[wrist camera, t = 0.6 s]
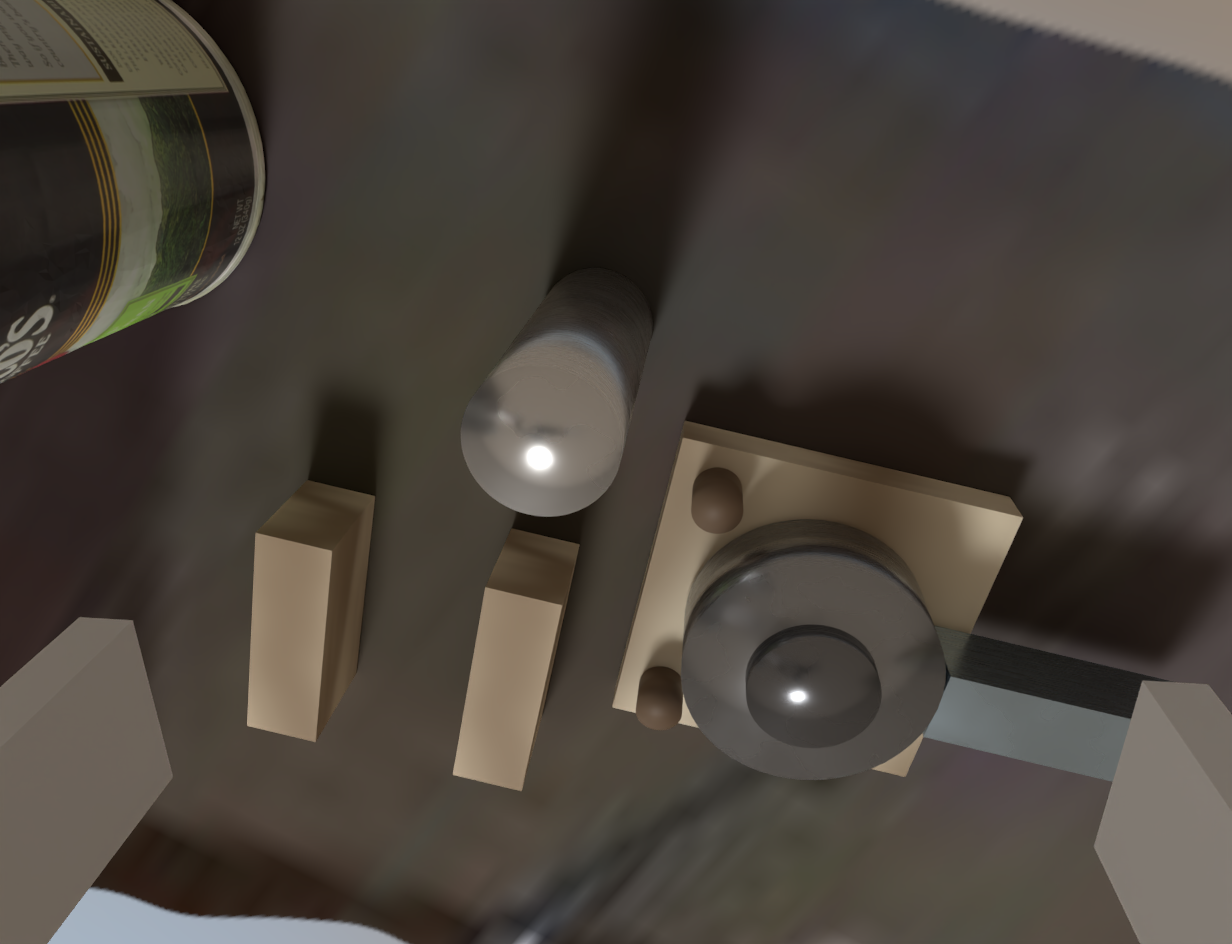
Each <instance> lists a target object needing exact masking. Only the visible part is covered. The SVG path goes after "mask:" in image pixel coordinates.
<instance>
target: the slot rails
mask: <svg viewBox="0 0 1232 944" xmlns="http://www.w3.org/2000/svg"><path fill="white" fill-rule="evenodd" d="M374 504H375V496H373V495H368V494H364V493H360V492H356V491H351V490H347V489H343V488H339V487H334V486H330V485H326V484H322V483H318V482H313V481H309V480H307V481H306V482H305V483H304V484H303V485H302V486H301V487H300V488H299V489H298V490H297V491H296V492H295V493H294V494H293V495H292V496H291V497H290V498H289V499H288V500H287V501H286V502H285V503H284V504H283V505H282V506H281V507H280V508H279V509H278V510H277V512H276V513H275V514H274V515H273V516H272V517H271V518H270V519H269V520H268V521H267V522H266V523H265V524H264V525H263V526H262V527H261V528H260V529H259V530H258V531H257V532H256V536H255V559H254V582H253V604H252V627H251V650H250V672H249V695H248V717H247V726H250V727H255V728H259V729H263V730H267V731H271V732H276V733H280V734H284V735H288V736H292V737H297V738H301V739H305V740H309V741H313V742H316V741H317V739H318V737H319V735H320V734H321V732H322V730H323V729H324V727H325V725H326V724H327V722H328V720H329V719H330V717H331V715H332V714H333V712H334V710H335V708H336V707H337V705H338V703H339V702H340V700H341V698H342V697H343V695H344V693H345V692H346V690H347V688H348V687H349V685H350V683H351V681H352V680H353V678H354V676H355V675H356V672H357V663H358V653H359V644H360V635H361V625H362V616H363V607H364V597H365V588H366V579H367V569H368V560H369V551H370V541H371V532H372V522H373V513H374ZM579 546H580V544H576V543H572V542H567V541H563V540H559V539H555V538H550V537H546V536H542V535H538V534H533V533H529V532H525V531H521V530H517V529H511V531H510V533H509V535H508V538H507V540H506V542H505V544H504V547H503V549H502V551H501V553H500V555H499V558H498V560H497V562H496V564H495V567H494V569H493V571H492V573H491V576H490V578H489V580H488V582H487V585H486V587H485V592H484V598H483V604H482V610H481V615H480V621H479V627H478V633H477V638H476V644H475V650H474V656H473V661H472V667H471V673H470V679H469V685H468V690H467V696H466V702H465V708H464V713H463V719H462V725H461V731H460V736H459V742H458V748H457V754H456V759H455V765H454V771H453V775H456V776H460V777H464V778H469V779H473V780H477V781H481V782H485V783H490V784H494V785H498V786H502V787H506V788H510V789H515V790H519V791H522V788H523V784H524V780H525V777H526V773H527V769H528V766H529V762H530V758H531V755H532V751H533V747H534V743H535V740H536V736H537V732H538V729H539V725H540V721H541V718H542V713H543V709H544V704H545V700H546V695H547V691H548V686H549V682H550V677H551V673H552V668H553V664H554V659H555V655H556V650H557V645H558V641H559V636H560V632H561V627H562V623H563V618H564V614H565V609H566V605H567V600H568V596H569V591H570V587H571V582H572V578H573V573H574V569H575V564H576V560H577V555H578V551H579Z"/></svg>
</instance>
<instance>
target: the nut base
mask: <svg viewBox="0 0 1232 944" xmlns="http://www.w3.org/2000/svg"><path fill="white" fill-rule="evenodd" d="M799 519H815V520H826V521H832V522H838V523H842V524H845V525H848V526H852V527H855V528H857V529H860V530H862V531H864V532H866V533H869V534H871V535H872V536H874V537H876V538H877V539H879V540H881V541H882V542H884V543H885V544H886V545H888V546H889V547H890V548H891V549H893V550H894V551H895V552H896V553H897V554H898V555H899V556H900V557H901V558H902V559H903V560H904V562H905V563H906V564H907V566H908V567H909V568H910V570H911V571H912V573H913V574H914V576H915V578H916V580H917V582H918V584H919V586H920V589H921V592H922V594H923V597H924V600H925V602H926V605H927V608H928V610H929V613H930V616H931V618H932V621H933V624H934V625H935V626H939V627H944V628H948V629H952V630H956V631H960V632H965V633H969V634H971V631H972V629H973V627H974V625H975V623H976V620H977V618H978V616H979V614H980V612H981V609H982V607H983V605H984V603H985V601H986V598H987V596H988V594H989V592H990V590H991V587H992V585H993V583H994V581H995V579H996V577H997V574H998V572H999V570H1000V568H1001V566H1002V563H1003V561H1004V559H1005V557H1006V555H1007V552H1008V550H1009V548H1010V546H1011V544H1012V541H1013V539H1014V537H1015V535H1016V533H1017V530H1018V528H1019V526H1020V524H1021V522H1022V520H1023V516H1022V515H1021V513H1020V512H1019V510H1018V509H1017V507H1016V506H1015V504H1014V503H1013V501H1012V500H1011V498H1010V497H1008V496H1004V495H1000V494H995V493H991V492H987V491H983V490H978V489H974V488H970V487H966V486H961V485H957V484H953V483H949V482H944V481H940V480H936V479H932V478H927V477H923V476H919V475H914V474H910V473H906V472H902V471H897V470H893V469H889V468H885V467H880V466H876V465H872V464H868V463H863V462H859V461H855V460H851V459H846V458H842V457H838V456H834V455H829V454H825V453H821V452H817V451H812V450H808V449H804V448H800V447H795V446H791V445H787V444H783V443H778V442H774V441H770V440H765V439H761V438H757V437H753V436H748V435H744V434H740V433H736V432H731V431H727V430H723V429H719V428H714V427H710V426H706V425H702V424H697V423H693V422H689V421H684V425H683V429H682V433H681V437H680V440H679V444H678V448H677V452H676V456H675V460H674V463H673V467H672V471H671V475H670V479H669V483H668V486H667V490H666V494H665V498H664V502H663V506H662V509H661V513H660V517H659V521H658V525H657V529H656V532H655V536H654V540H653V544H652V548H651V552H650V556H649V559H648V563H647V567H646V571H645V575H644V579H643V582H642V586H641V590H640V594H639V598H638V602H637V605H636V609H635V613H634V617H633V621H632V625H631V628H630V632H629V636H628V640H627V644H626V648H625V651H624V655H623V659H622V663H621V667H620V671H619V674H618V678H617V682H616V688H615V694H614V700H613V706H612V707H613V708H617V709H622V710H626V711H630V712H634V713H636V715H637V717H638V719H639V721H640V722H641V723H642V724H643V725H645V726H646V727H648V728H651V729H654V730H666V729H670V728H672V727H674V726H675V725H676V724H678V723H681V724H685V725H689V726H693V727H697V728H699V727H698V726H697V724H696V723H695V721H694V719H693V718H692V716H691V714H690V712H689V709H688V707H687V705H686V702H685V698H684V695H683V691H682V683H681V662H682V647H683V632H684V616H685V607H686V602H687V598H688V595H689V592H690V589H691V587H692V584H693V582H694V581H695V579H696V577H697V575H698V573H699V572H700V571H701V569H702V568H703V567H704V565H705V564H706V563H707V561H708V560H709V559H710V558H711V557H712V556H713V555H714V554H715V553H716V552H717V551H718V550H720V549H721V548H722V547H724V546H725V545H726V544H728V543H729V542H730V541H732V540H734V539H735V538H737V537H739V536H740V535H742V534H744V533H746V532H749V531H751V530H753V529H756V528H758V527H761V526H765V525H768V524H771V523H776V522H781V521H787V520H799ZM922 739H923V734H921V735H920V736H919V737H918V738H917V739H916V740H915V741H914V742H913V743H912V744H911V745H910V746H909V747H907V748H906V749H905V750H904V751H902V752H901V753H900V754H898V755H897V756H895V757H893V758H892V759H890V760H888V761H887V762H885V763H883V764H881V765H879V766H876V767H874V768H872V769H874V770H879V771H883V772H887V773H891V774H895V775H900V776H904V777H905V776H906V774H907V772H908V769H909V767H910V765H911V763H912V761H913V759H914V756H915V754H916V752H917V750H918V748H919V745H920V743H921V741H922Z"/></svg>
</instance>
